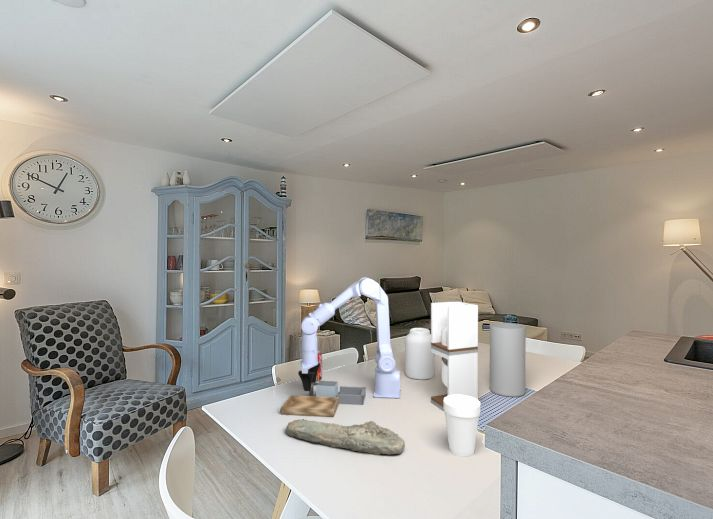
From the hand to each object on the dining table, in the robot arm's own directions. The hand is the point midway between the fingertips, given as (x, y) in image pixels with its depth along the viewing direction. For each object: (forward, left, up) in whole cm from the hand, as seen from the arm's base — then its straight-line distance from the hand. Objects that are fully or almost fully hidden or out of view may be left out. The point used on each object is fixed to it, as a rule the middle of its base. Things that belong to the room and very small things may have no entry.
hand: (309, 387), depth 133 cm
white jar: (-41, -29, -4) cm, 51 cm away
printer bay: (-15, 0, -4) cm, 15 cm away
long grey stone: (-17, +29, -4) cm, 34 cm away
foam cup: (-49, +31, -4) cm, 58 cm away
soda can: (+3, -18, -4) cm, 19 cm away
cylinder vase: (-73, -14, -4) cm, 74 cm away
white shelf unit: (-51, +2, -4) cm, 51 cm away
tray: (-3, +10, -4) cm, 11 cm away
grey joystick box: (-5, 0, -4) cm, 6 cm away
